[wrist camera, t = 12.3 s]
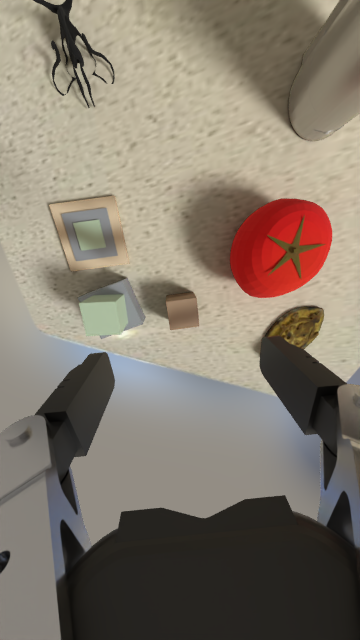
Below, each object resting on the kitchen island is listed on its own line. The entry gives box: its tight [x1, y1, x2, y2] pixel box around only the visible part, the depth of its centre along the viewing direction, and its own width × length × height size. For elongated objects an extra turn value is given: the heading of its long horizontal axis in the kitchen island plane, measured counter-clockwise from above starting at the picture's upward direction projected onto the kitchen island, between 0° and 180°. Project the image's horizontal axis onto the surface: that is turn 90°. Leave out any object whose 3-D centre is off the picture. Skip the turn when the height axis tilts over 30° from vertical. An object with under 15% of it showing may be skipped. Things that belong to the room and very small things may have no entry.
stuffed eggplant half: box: [265, 307, 324, 349], centre depth 36 cm, size 9×5×15 cm
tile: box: [49, 196, 130, 272], centre depth 29 cm, size 10×10×1 cm
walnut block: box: [166, 292, 199, 330], centre depth 32 cm, size 5×5×5 cm
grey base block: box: [78, 278, 145, 339], centre depth 32 cm, size 8×8×4 cm
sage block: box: [79, 294, 128, 336], centre depth 28 cm, size 5×5×5 cm
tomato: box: [230, 199, 332, 298], centre depth 27 cm, size 14×13×10 cm
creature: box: [33, 0, 114, 107], centre depth 21 cm, size 8×5×8 cm
